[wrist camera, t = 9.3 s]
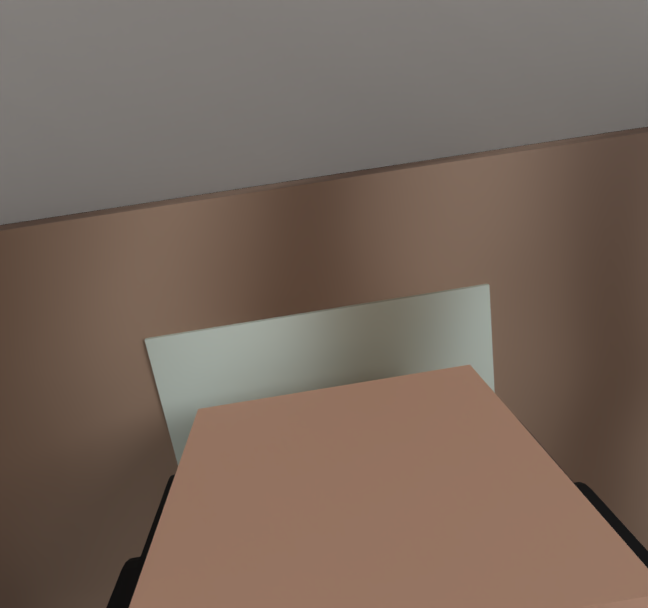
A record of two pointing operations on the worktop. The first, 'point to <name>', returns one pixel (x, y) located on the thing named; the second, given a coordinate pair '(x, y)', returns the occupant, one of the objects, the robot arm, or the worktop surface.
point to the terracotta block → (380, 507)
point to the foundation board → (314, 330)
